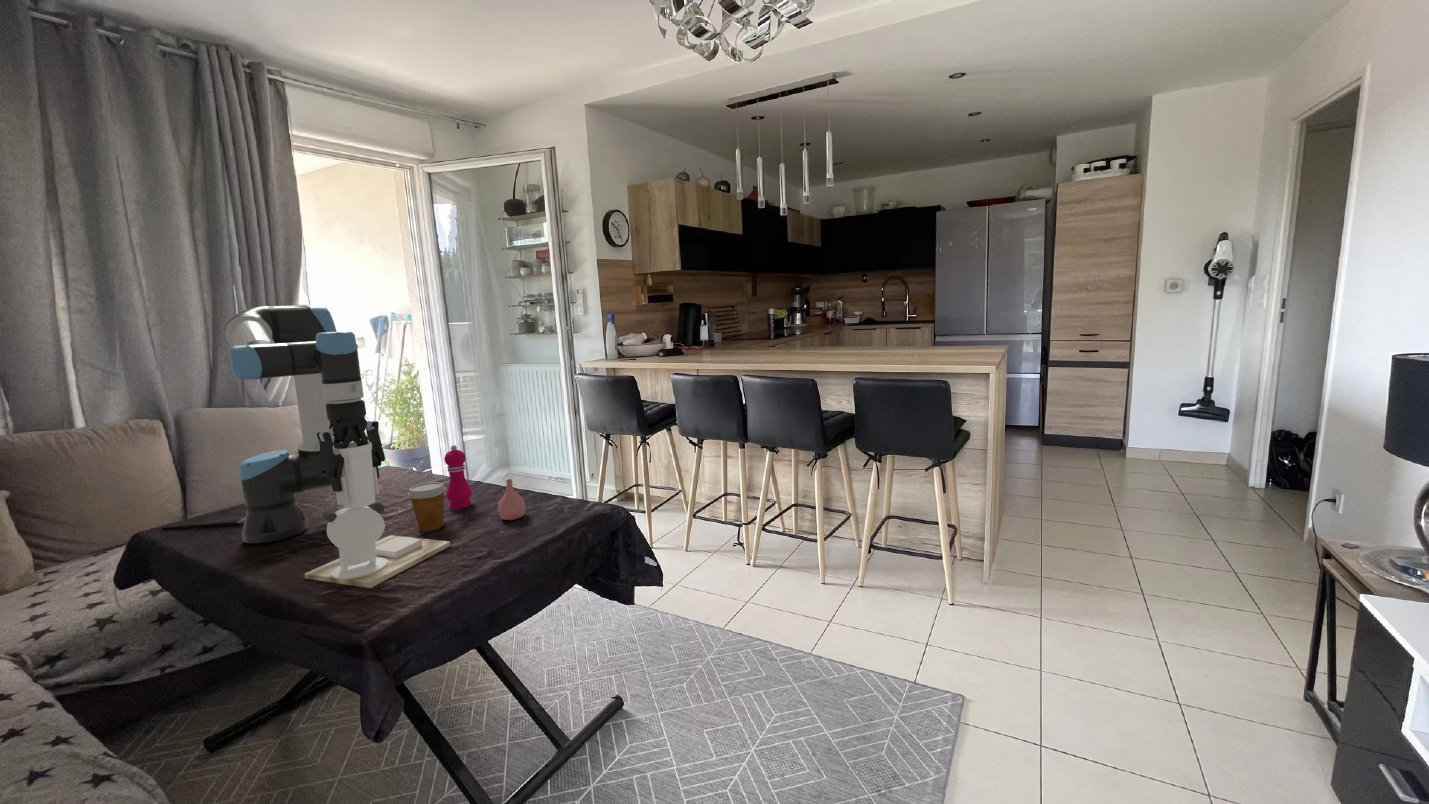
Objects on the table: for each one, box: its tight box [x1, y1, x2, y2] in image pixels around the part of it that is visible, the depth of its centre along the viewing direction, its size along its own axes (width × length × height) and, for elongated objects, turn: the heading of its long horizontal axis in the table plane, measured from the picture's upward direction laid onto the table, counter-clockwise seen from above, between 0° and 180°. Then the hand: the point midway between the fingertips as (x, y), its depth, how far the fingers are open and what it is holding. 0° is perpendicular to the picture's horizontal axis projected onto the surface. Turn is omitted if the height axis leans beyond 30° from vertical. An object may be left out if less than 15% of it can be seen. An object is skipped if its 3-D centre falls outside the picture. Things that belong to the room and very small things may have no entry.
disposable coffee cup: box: [407, 481, 446, 532], centre depth 167 cm, size 10×10×12 cm
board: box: [304, 534, 451, 589], centre depth 145 cm, size 20×24×1 cm
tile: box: [376, 536, 423, 558], centre depth 148 cm, size 2×8×8 cm
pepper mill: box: [444, 444, 473, 510], centre depth 182 cm, size 7×7×20 cm
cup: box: [333, 441, 376, 508], centre depth 135 cm, size 8×8×14 cm
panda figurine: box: [323, 499, 388, 579], centre depth 138 cm, size 12×11×15 cm
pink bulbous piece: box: [497, 478, 527, 521], centre depth 170 cm, size 8×8×12 cm
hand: (359, 498), depth 136 cm, fingers closed on cup, 7 cm apart
